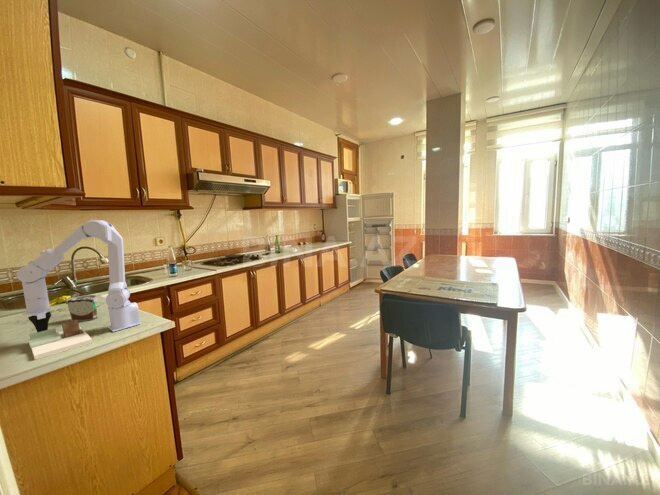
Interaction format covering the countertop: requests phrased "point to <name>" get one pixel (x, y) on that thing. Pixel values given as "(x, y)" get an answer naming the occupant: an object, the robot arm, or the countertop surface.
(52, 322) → the countertop surface
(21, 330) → the countertop surface
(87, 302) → the food container
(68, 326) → the walnut block
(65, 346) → the puzzle board
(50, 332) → the lid
